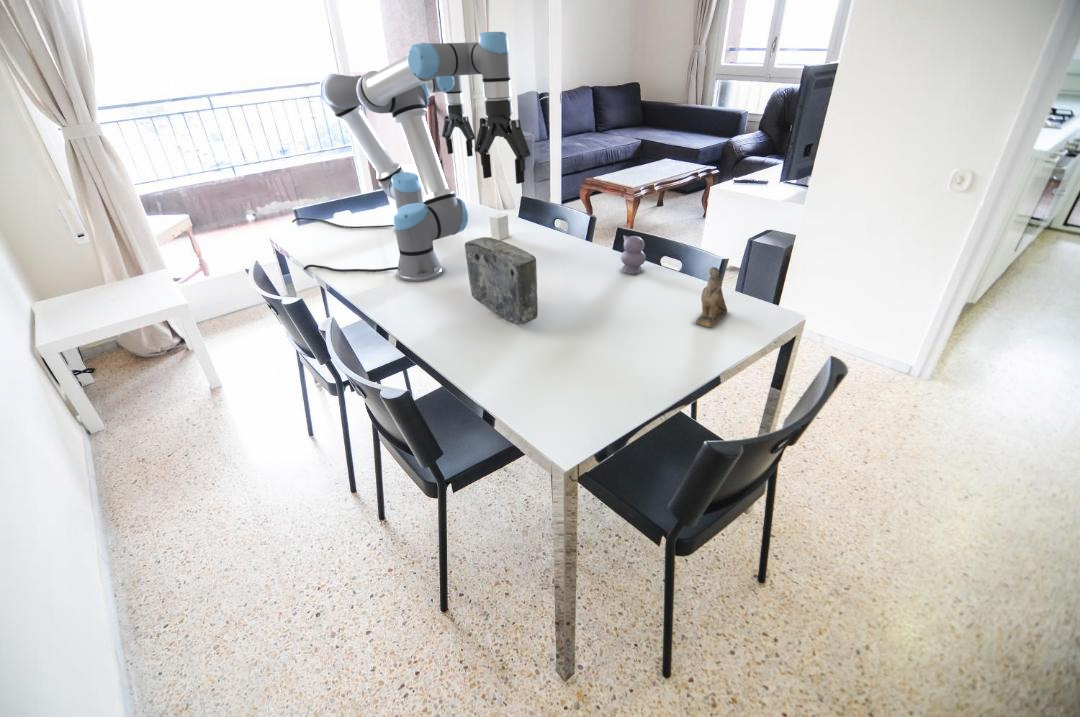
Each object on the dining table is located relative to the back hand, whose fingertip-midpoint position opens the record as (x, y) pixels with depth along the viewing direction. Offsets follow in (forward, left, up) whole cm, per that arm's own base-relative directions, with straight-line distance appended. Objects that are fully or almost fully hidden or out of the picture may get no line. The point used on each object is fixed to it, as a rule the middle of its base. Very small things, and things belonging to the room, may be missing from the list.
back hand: (460, 154), depth 232 cm
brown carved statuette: (+124, -84, -26) cm, 152 cm away
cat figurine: (+95, -55, -26) cm, 113 cm away
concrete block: (+67, -99, -26) cm, 123 cm away
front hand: (+60, -79, +8) cm, 100 cm away
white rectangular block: (+34, -34, -26) cm, 55 cm away
